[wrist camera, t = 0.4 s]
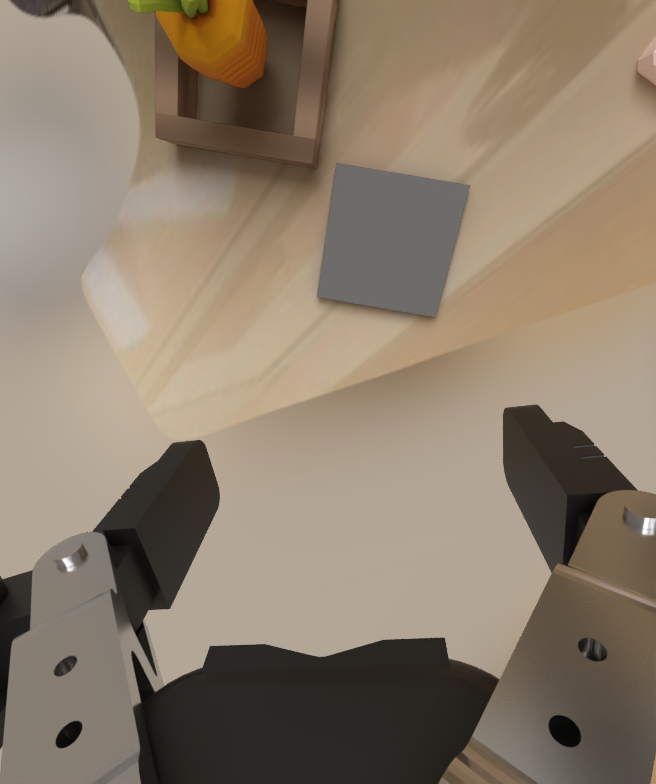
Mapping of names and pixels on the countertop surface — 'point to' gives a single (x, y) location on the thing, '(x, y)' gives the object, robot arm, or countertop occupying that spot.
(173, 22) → the carrot
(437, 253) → the mat
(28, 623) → the robot arm
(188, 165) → the countertop surface
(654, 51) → the soap bar
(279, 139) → the socket collar
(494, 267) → the countertop surface
